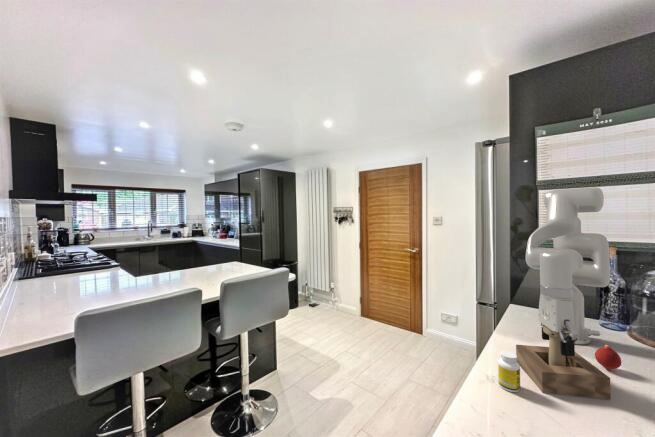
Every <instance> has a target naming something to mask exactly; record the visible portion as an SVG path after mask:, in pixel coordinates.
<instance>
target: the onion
mask: <svg viewBox="0 0 655 437" xmlns="http://www.w3.org/2000/svg"><path fill="white" fill-rule="evenodd" d="M594 358H595V360H596V362H597V363H598V364H600V365H601V366H602V367H603V369H605V370H607V371H613V370H617V369H619V368H620V366H622V358H621V357H620V355H619V354H618V352H617V351H616V350H614V349H612V348H611V346H609V345H608V344H603V346H602V347H599V348H598V349H597V350H595V352H594Z"/></svg>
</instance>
